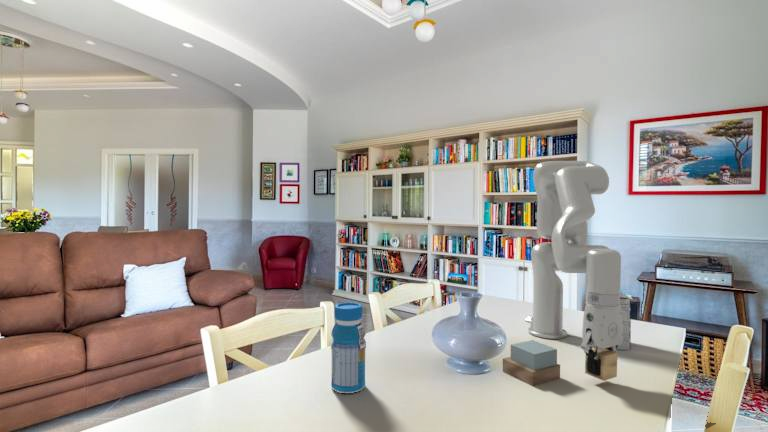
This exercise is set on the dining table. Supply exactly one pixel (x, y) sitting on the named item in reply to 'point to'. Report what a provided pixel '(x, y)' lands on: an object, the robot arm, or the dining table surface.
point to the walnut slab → (530, 372)
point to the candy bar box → (625, 322)
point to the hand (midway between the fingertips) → (600, 370)
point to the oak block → (605, 364)
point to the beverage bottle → (348, 349)
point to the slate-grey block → (534, 354)
